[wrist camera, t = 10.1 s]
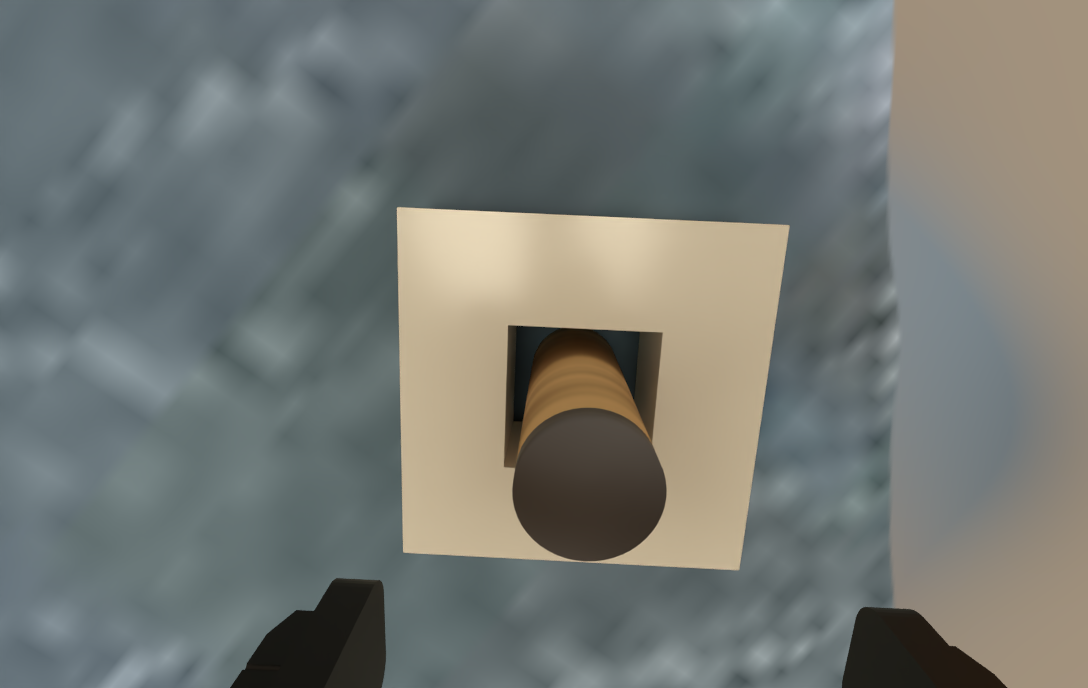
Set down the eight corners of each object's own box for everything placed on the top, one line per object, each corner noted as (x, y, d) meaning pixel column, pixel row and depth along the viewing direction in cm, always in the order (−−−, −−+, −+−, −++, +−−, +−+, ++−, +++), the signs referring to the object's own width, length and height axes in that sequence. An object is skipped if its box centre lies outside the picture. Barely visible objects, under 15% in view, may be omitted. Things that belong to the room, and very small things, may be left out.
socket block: (429, 209, 24) (396, 207, 19) (741, 223, 24) (789, 225, 19) (430, 492, 27) (403, 552, 22) (706, 506, 27) (739, 570, 22)
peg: (534, 324, 25) (514, 417, 13) (619, 328, 25) (674, 425, 13) (530, 404, 26) (510, 557, 14) (613, 408, 26) (659, 565, 14)
